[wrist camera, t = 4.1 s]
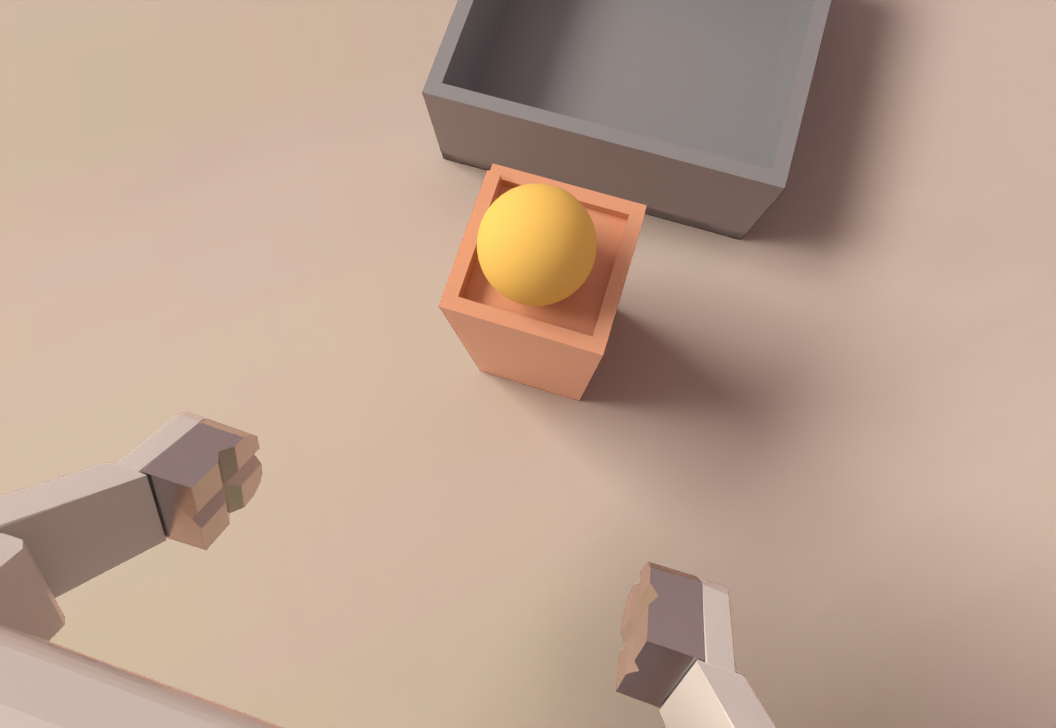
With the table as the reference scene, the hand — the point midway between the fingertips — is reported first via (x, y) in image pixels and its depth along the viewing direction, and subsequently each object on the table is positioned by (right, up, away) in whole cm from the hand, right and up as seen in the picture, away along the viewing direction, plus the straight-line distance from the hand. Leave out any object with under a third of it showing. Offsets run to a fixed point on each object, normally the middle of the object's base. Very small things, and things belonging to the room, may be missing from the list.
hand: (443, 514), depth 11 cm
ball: (+2, +6, +3) cm, 7 cm away
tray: (+7, +17, +15) cm, 24 cm away
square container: (+2, +4, +13) cm, 14 cm away
